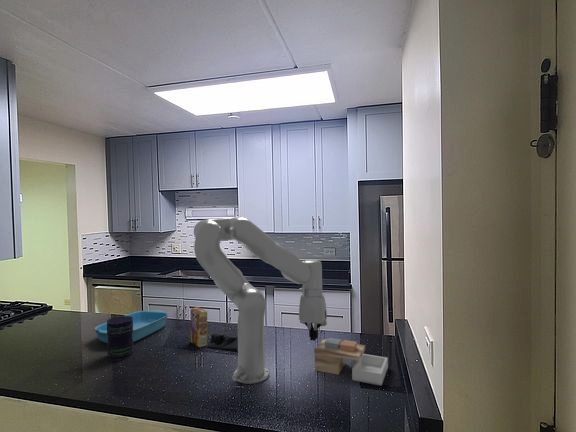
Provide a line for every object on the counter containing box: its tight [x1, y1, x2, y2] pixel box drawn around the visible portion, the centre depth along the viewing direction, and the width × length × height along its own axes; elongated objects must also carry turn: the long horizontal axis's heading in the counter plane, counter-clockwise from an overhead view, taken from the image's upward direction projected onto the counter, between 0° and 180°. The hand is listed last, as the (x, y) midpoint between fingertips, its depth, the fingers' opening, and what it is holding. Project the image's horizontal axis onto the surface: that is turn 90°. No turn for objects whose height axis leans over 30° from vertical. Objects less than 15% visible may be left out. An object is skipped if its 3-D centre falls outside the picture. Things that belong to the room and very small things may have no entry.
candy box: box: [190, 307, 208, 348], centre depth 155 cm, size 9×4×15 cm, turn 39°
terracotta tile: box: [340, 339, 358, 352], centre depth 128 cm, size 5×5×2 cm
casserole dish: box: [94, 309, 169, 344], centre depth 169 cm, size 37×22×7 cm, turn 164°
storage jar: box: [106, 315, 134, 361], centre depth 143 cm, size 10×10×15 cm
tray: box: [351, 353, 389, 386], centre depth 125 cm, size 14×10×4 cm
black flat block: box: [207, 333, 238, 352], centre depth 153 cm, size 15×22×5 cm
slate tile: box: [325, 337, 342, 350], centre depth 130 cm, size 5×5×2 cm
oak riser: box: [313, 338, 366, 375], centre depth 129 cm, size 11×16×8 cm, turn 66°
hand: (313, 339), depth 134 cm, fingers closed
